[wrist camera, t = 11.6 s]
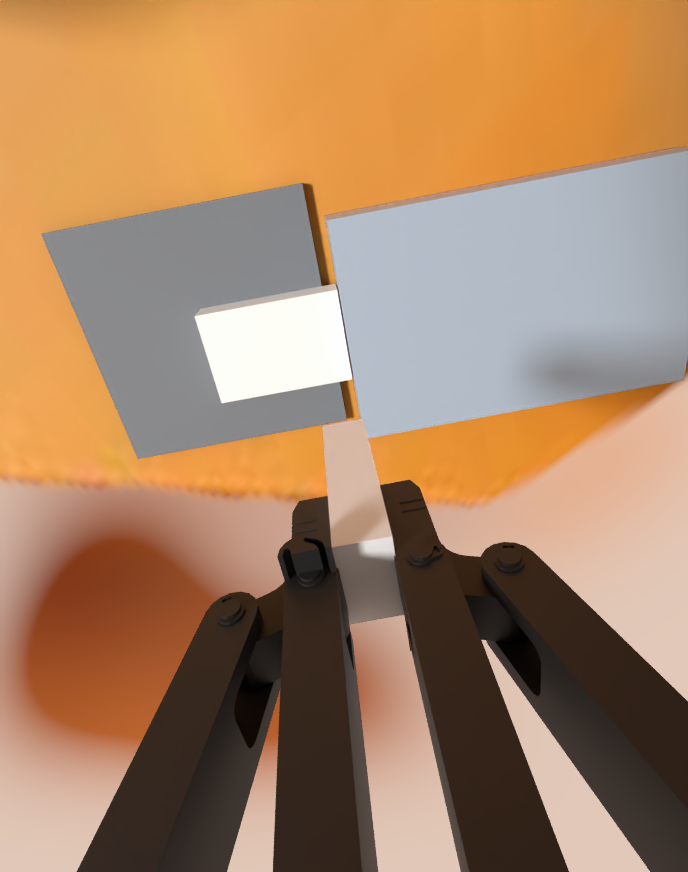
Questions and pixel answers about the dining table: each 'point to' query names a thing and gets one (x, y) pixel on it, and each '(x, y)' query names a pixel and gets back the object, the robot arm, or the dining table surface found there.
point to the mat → (189, 312)
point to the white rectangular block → (275, 343)
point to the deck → (516, 292)
